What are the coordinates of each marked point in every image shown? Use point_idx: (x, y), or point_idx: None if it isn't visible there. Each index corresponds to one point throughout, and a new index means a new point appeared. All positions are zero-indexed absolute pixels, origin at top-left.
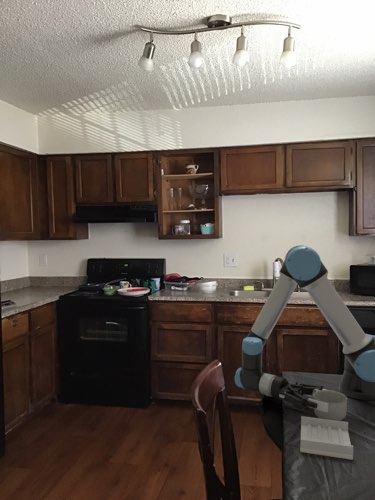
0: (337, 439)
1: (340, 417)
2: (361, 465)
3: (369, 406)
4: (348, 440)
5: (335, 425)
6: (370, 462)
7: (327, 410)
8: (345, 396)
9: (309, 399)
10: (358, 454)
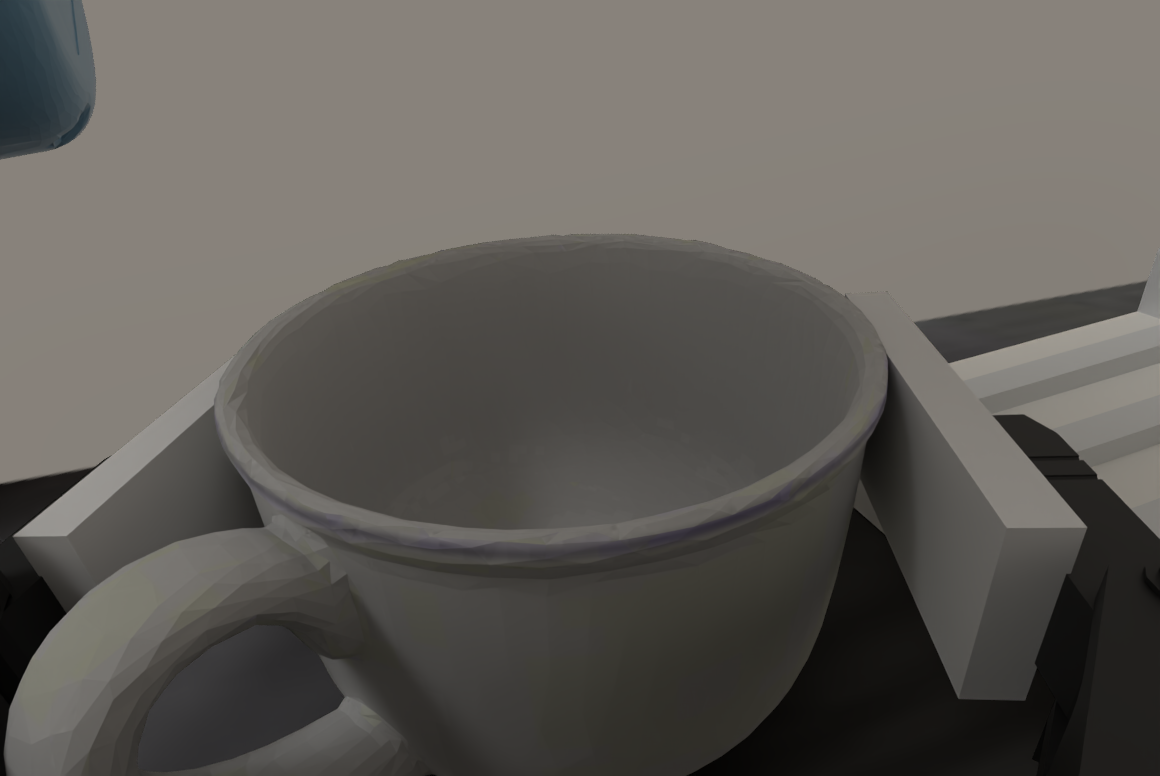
0: (1072, 401)
1: (680, 426)
2: (1136, 308)
3: (32, 482)
4: (978, 363)
5: None
6: (1036, 300)
7: None
8: (442, 255)
9: (1061, 504)
10: (1028, 339)
